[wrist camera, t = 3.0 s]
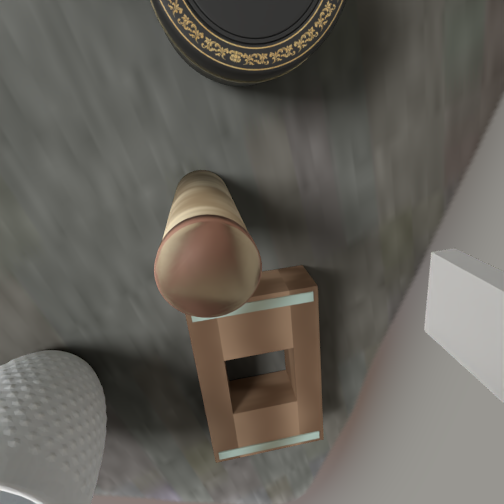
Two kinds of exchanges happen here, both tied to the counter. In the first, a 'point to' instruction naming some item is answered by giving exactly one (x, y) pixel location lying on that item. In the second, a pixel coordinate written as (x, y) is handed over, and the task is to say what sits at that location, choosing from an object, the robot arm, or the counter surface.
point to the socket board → (267, 385)
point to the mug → (50, 429)
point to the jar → (246, 35)
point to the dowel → (206, 250)
